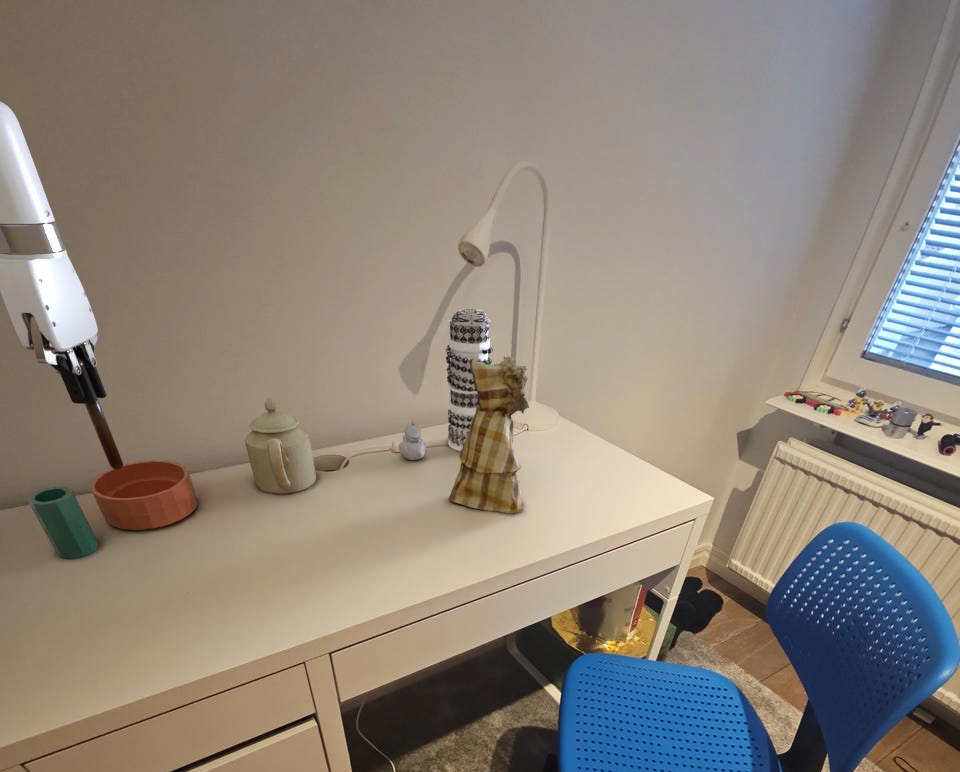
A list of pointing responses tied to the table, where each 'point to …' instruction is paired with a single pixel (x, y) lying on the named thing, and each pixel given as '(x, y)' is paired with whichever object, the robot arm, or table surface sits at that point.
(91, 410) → the stirring stick
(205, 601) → the table surface
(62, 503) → the stick holder
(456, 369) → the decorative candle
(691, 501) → the table surface
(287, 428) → the sugar bowl
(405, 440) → the grey figurine
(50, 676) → the table surface
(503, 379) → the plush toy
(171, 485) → the mixing bowl
